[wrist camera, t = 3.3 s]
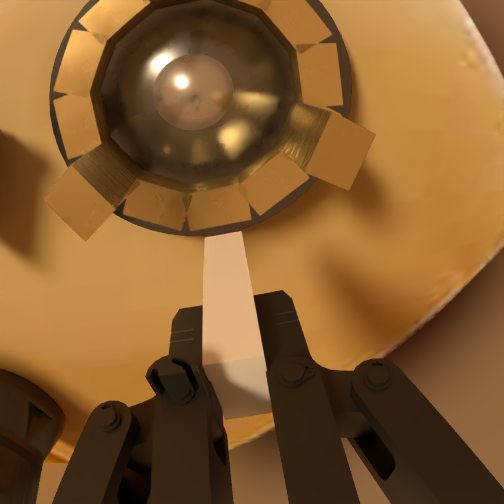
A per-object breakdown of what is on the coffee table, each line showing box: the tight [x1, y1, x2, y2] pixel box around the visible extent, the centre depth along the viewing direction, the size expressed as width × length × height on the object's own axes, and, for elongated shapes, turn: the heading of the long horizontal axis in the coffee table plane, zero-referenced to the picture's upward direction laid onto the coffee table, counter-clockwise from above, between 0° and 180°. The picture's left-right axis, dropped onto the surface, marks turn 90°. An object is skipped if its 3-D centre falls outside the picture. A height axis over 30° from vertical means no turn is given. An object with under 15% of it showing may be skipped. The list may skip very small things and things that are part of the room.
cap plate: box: [49, 0, 352, 236], centre depth 17 cm, size 20×20×6 cm
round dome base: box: [43, 0, 376, 241], centre depth 15 cm, size 16×16×7 cm
